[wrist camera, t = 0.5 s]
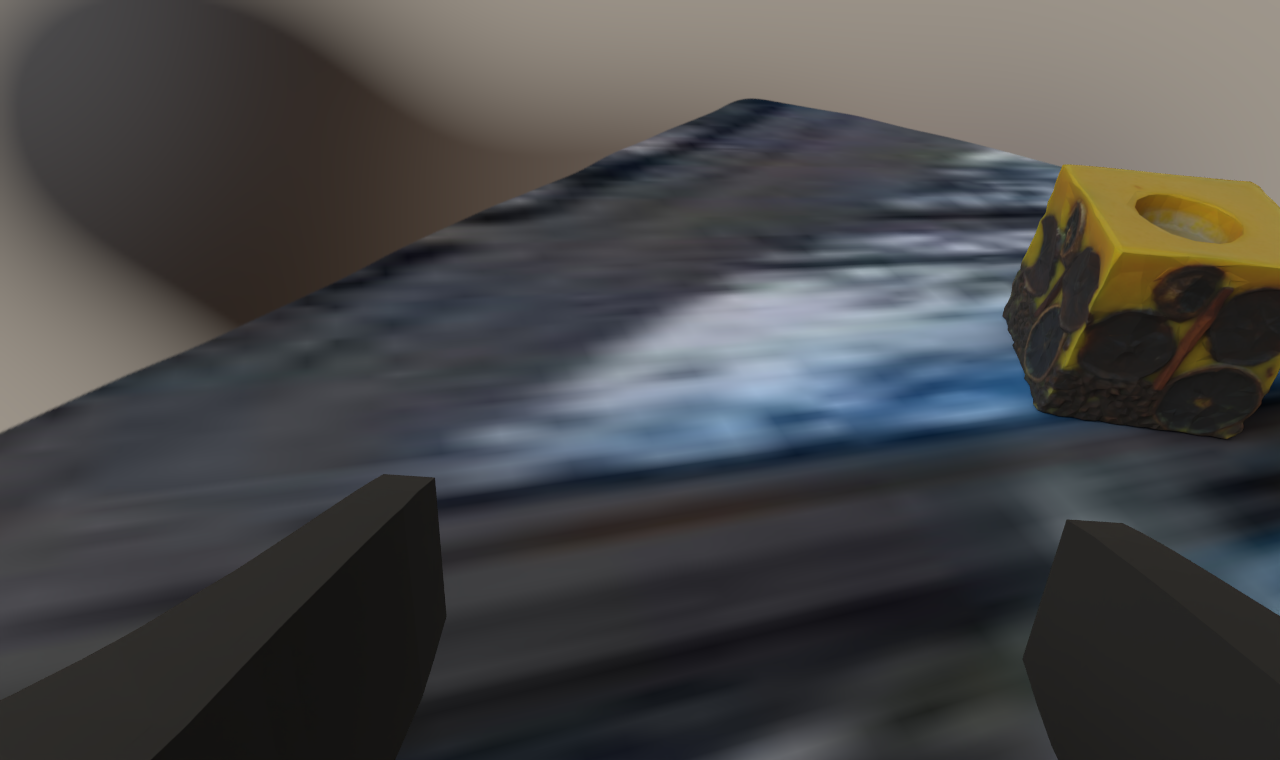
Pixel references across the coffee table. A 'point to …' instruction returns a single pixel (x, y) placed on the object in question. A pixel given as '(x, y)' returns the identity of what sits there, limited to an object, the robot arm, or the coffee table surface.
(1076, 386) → the candle
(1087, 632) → the robot arm
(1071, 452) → the coffee table surface
